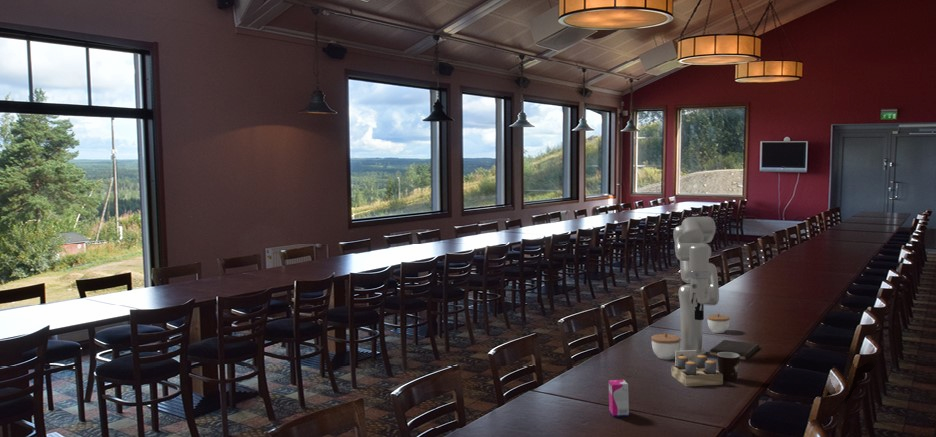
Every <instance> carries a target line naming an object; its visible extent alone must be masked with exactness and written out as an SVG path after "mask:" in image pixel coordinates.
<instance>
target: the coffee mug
mask: <svg viewBox="0 0 936 437" xmlns="http://www.w3.org/2000/svg"><path fill="white" fill-rule="evenodd" d="M716 358H717V365H718V366H717V367H718V372H720V373H721V374H723V382H731V383H734V382H736V381H737V380H738V375H739V372H738V371H739V365H740V360H741V359H740V355H739V354H737V353H732V352H720V353H717V356H716Z"/></svg>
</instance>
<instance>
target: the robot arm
mask: <svg viewBox="0 0 936 437" xmlns="http://www.w3.org/2000/svg"><path fill="white" fill-rule="evenodd" d="M672 232H673V241H674V252H675V257H676V258H677V260H678V261H679V267H680V268H679V269H680V278H681V280H682V282H683V283H687V284H683V285H681V286H680V287H679V289H678V291H677V292H678V300H679V307H680V308H679V309H680V339H681V340H680V349H679V351H688V350H697V356H698V355H705V356H706V354H707V350H706V349H704V348H703V320H704V319H705V315H704V314H705V313H704V312H705V311H704V309H705V307H706V306H707V307H708V306H710V307H711V306H716V305H718V304H719V301H720V292H719V291H720V290H719V280H718V278H719V277H718V270H717V267H716V265H715V264H714V263H711V262H710V260H709V259H710V258H711V257H712V248H711V247H710V245H709V244H708V243H711V242H712V240H713V239H714V237H715V234H716V222H715V220H714V218H712V217H710V216H690V217H689V216H688V217H686V218H684V219H683V220H682V222H681V225H678V226H675V228H673V231H672Z"/></svg>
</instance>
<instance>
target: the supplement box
mask: <svg viewBox="0 0 936 437" xmlns="http://www.w3.org/2000/svg"><path fill="white" fill-rule="evenodd" d="M629 403H630V402H629V383H628V382H627V381H626V380H625V379H611V380H610V379H609V380H608V411H609V413H610V414H611V416H612V418H616V417H617V418H618V417H619V418H620V417H621V418H622V417H629V415H630V411H629V410H630V406H629Z"/></svg>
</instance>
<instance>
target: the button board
mask: <svg viewBox="0 0 936 437" xmlns="http://www.w3.org/2000/svg"><path fill="white" fill-rule="evenodd" d="M670 367H671V368H670V369H671V370H670V371H671V372H670V374H671V376H672V377H673V378H674V379H676V381H678V382H680V383H681V385H684V386H685V387H699V386H701V387H703V386H718V385H719V386H720V385H723V384H724V381H723V374H721V373H720V372H719V370H717V369H716V374H709V375H707V374H705V368H703V369H698V368H697V367H696V375H691V376H687V375H686V374H685V369H684V370H679V369H678V368H677V365H675V364H674V365H671V366H670Z"/></svg>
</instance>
